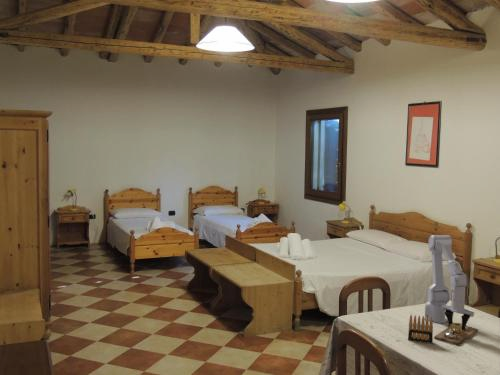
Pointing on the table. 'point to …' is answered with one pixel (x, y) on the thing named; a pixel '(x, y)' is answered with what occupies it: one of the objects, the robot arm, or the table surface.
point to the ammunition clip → (421, 330)
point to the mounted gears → (453, 333)
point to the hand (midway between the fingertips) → (456, 327)
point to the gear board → (459, 339)
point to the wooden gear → (456, 327)
